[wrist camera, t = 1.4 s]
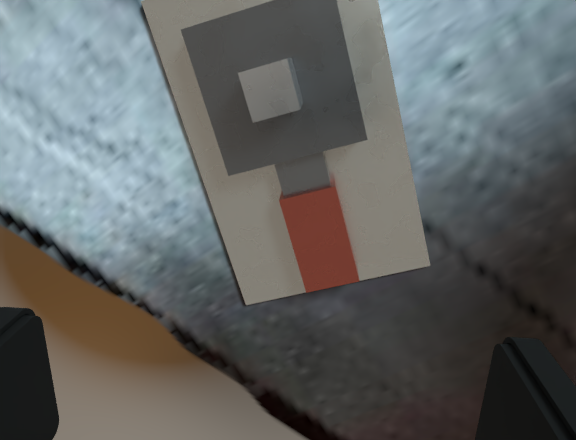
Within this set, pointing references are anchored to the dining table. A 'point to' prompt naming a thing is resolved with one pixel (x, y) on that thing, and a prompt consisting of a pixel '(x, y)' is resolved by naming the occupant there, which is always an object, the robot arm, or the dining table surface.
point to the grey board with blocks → (294, 138)
